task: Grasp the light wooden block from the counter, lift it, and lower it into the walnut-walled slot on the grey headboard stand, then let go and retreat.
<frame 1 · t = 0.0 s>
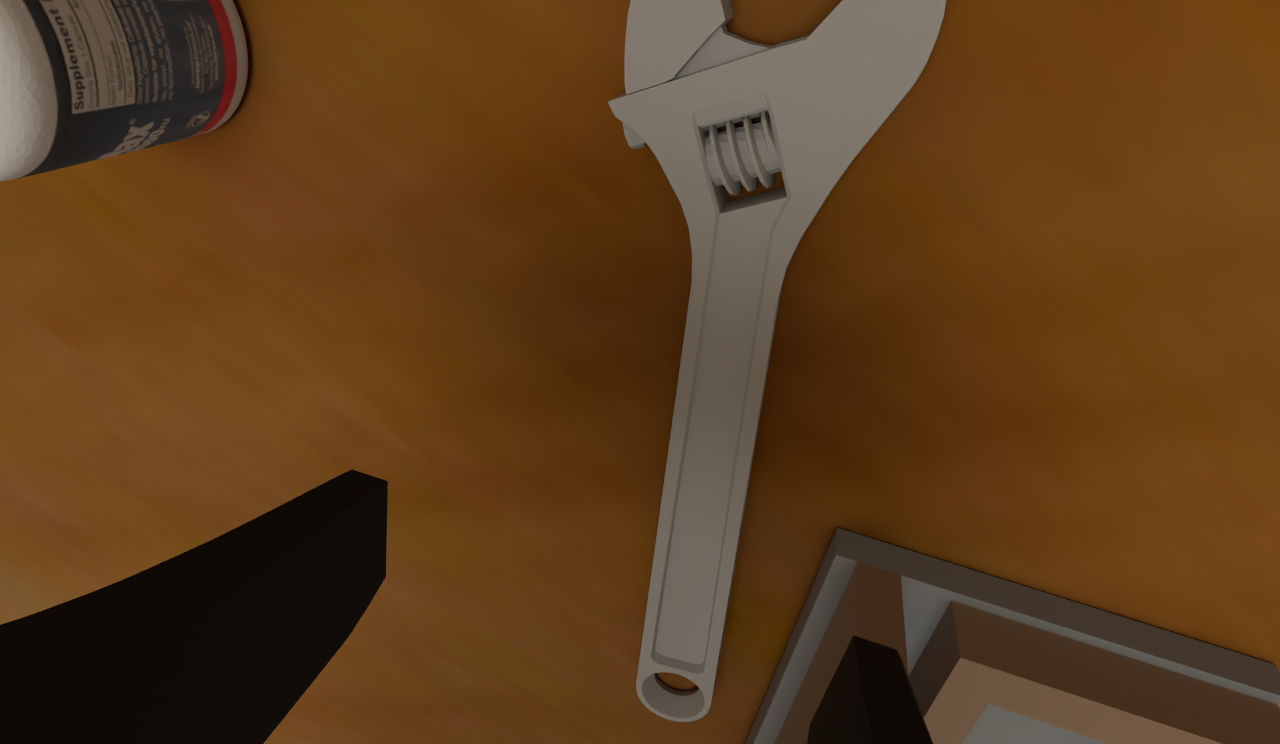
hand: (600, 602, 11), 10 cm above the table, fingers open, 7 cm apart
adjustable wrench: (702, 373, 21), on the table
headboard stand: (961, 723, 24), on the table
pill bottle: (173, 32, 20), on the table
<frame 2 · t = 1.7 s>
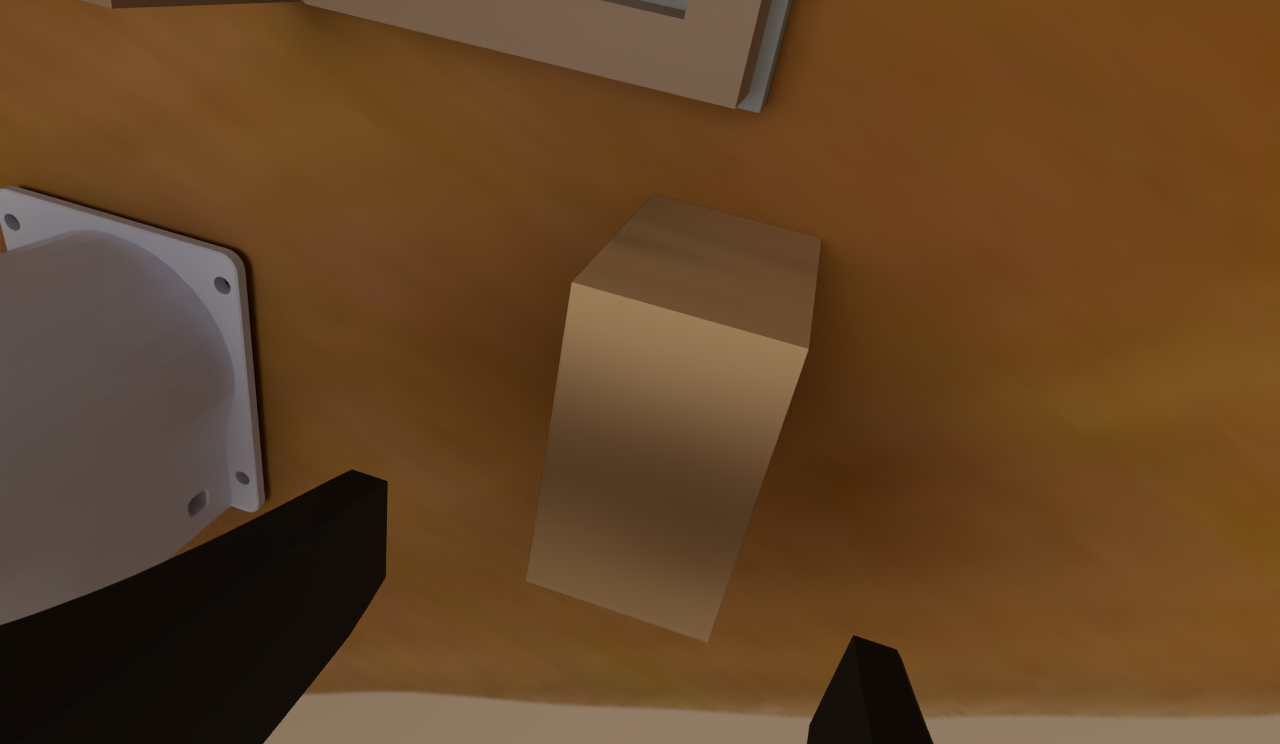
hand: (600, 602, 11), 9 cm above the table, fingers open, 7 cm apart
light wooden block: (702, 345, 19), on the table
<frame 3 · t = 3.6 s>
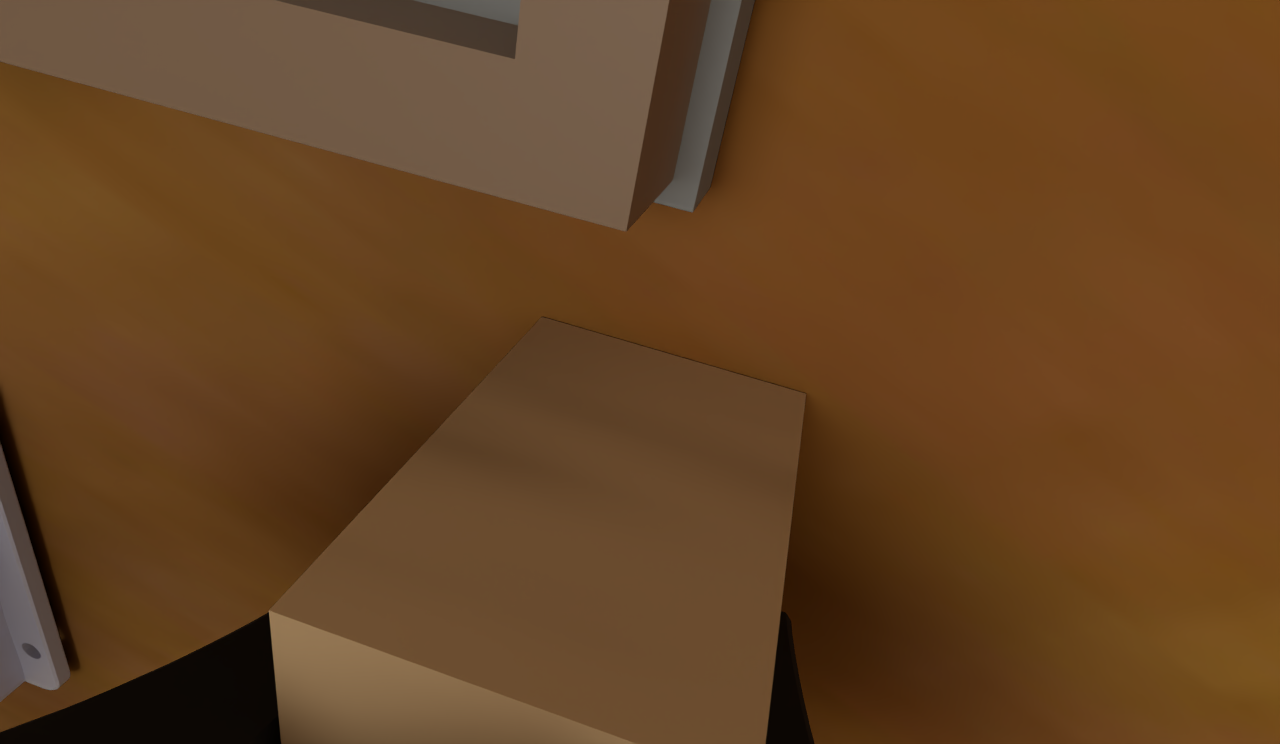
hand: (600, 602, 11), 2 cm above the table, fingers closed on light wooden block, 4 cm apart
light wooden block: (628, 532, 13), on the table, touching gripper
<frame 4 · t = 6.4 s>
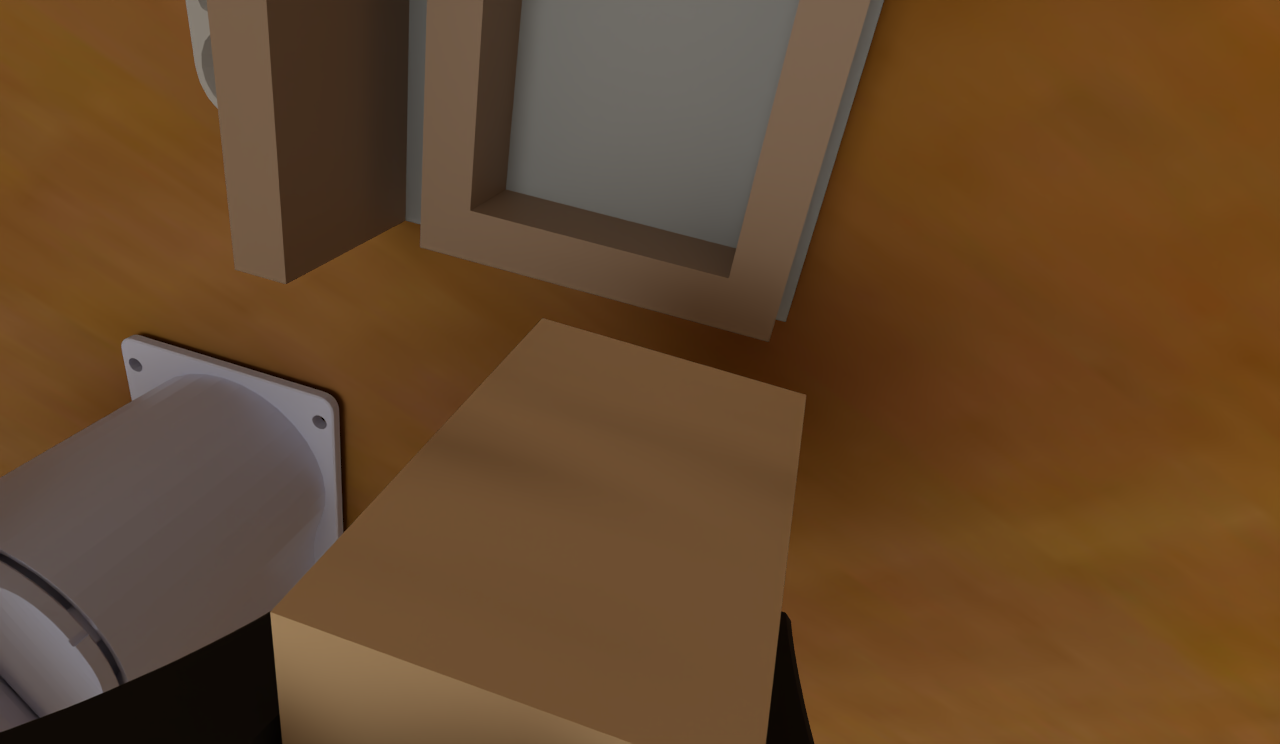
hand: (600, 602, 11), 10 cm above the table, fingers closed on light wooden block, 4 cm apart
light wooden block: (628, 533, 13), point 9 cm above the table, touching gripper
headboard stand: (604, 1, 17), on the table
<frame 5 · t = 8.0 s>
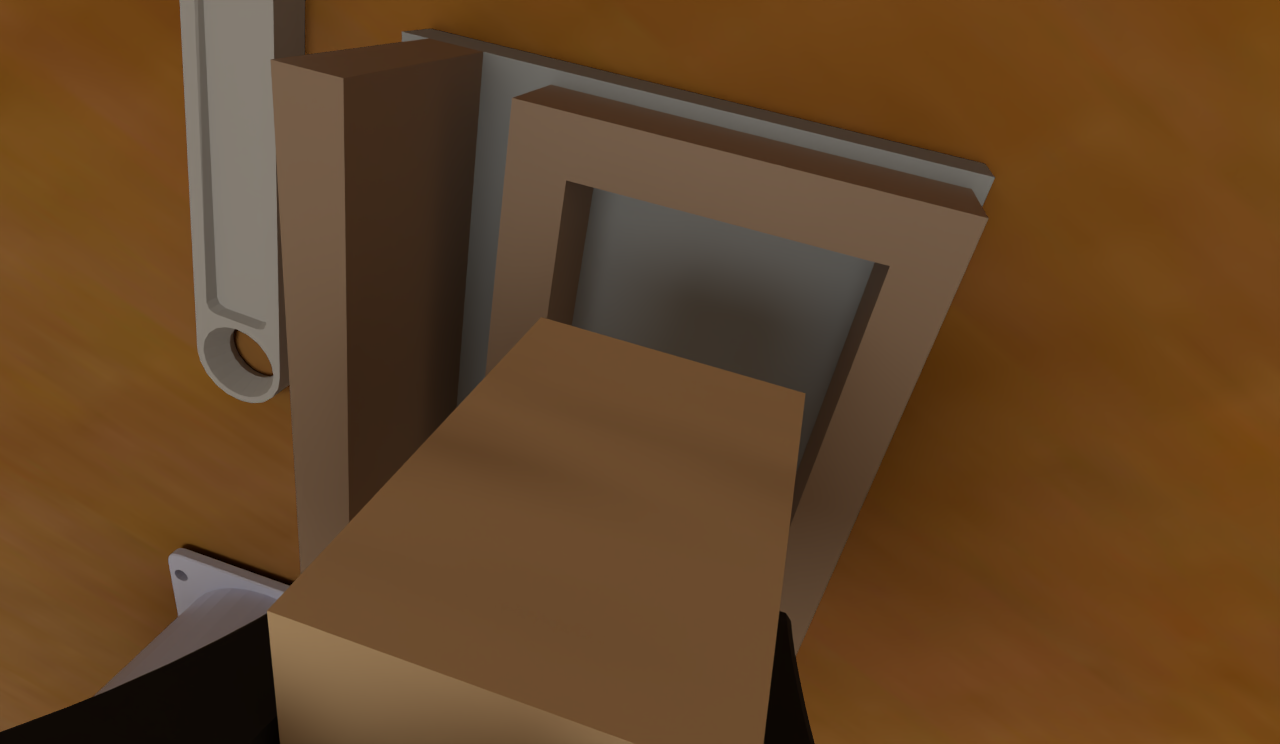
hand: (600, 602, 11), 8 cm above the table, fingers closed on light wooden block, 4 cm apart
light wooden block: (628, 533, 13), point 7 cm above the table, touching gripper
headboard stand: (640, 342, 18), on the table
when the fingers open (4 cm above the table, at t = 9.4 s): light wooden block stays where it is, resting on headboard stand.
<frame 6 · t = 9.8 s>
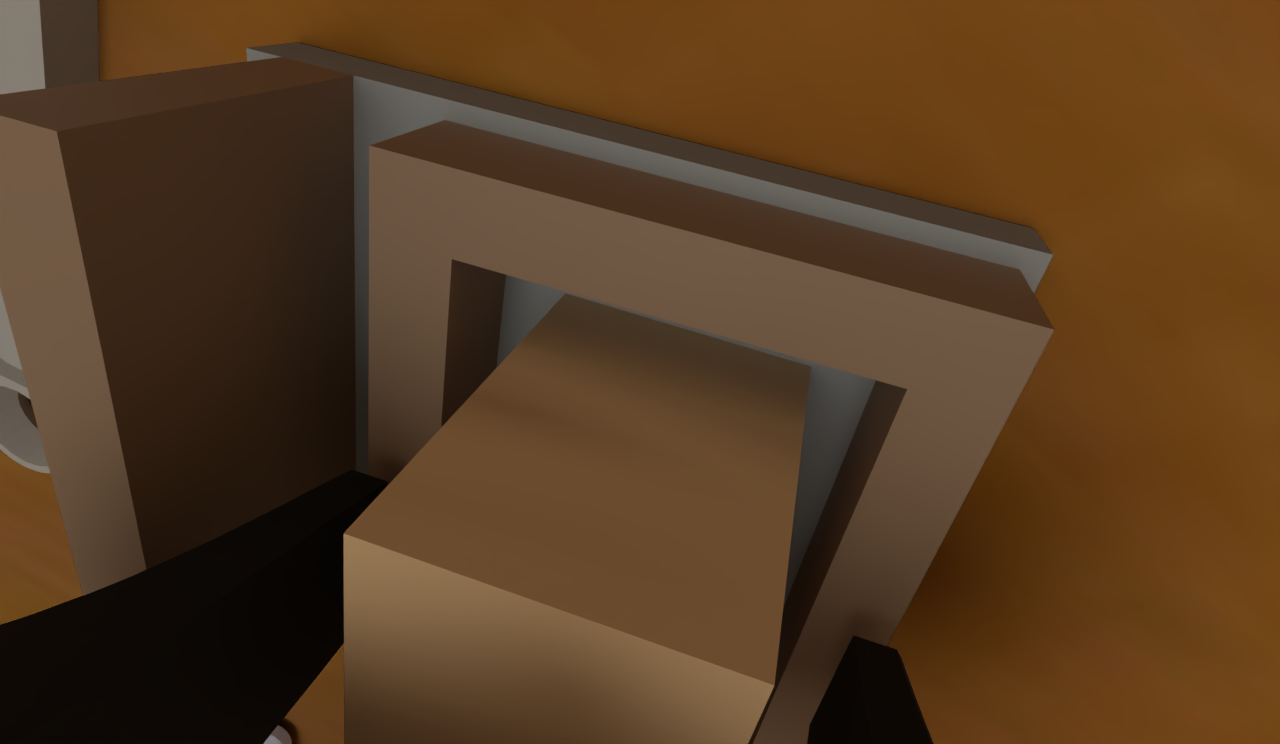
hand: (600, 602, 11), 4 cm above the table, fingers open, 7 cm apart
light wooden block: (641, 499, 13), point 1 cm above the table, touching headboard stand
headboard stand: (584, 438, 15), on the table
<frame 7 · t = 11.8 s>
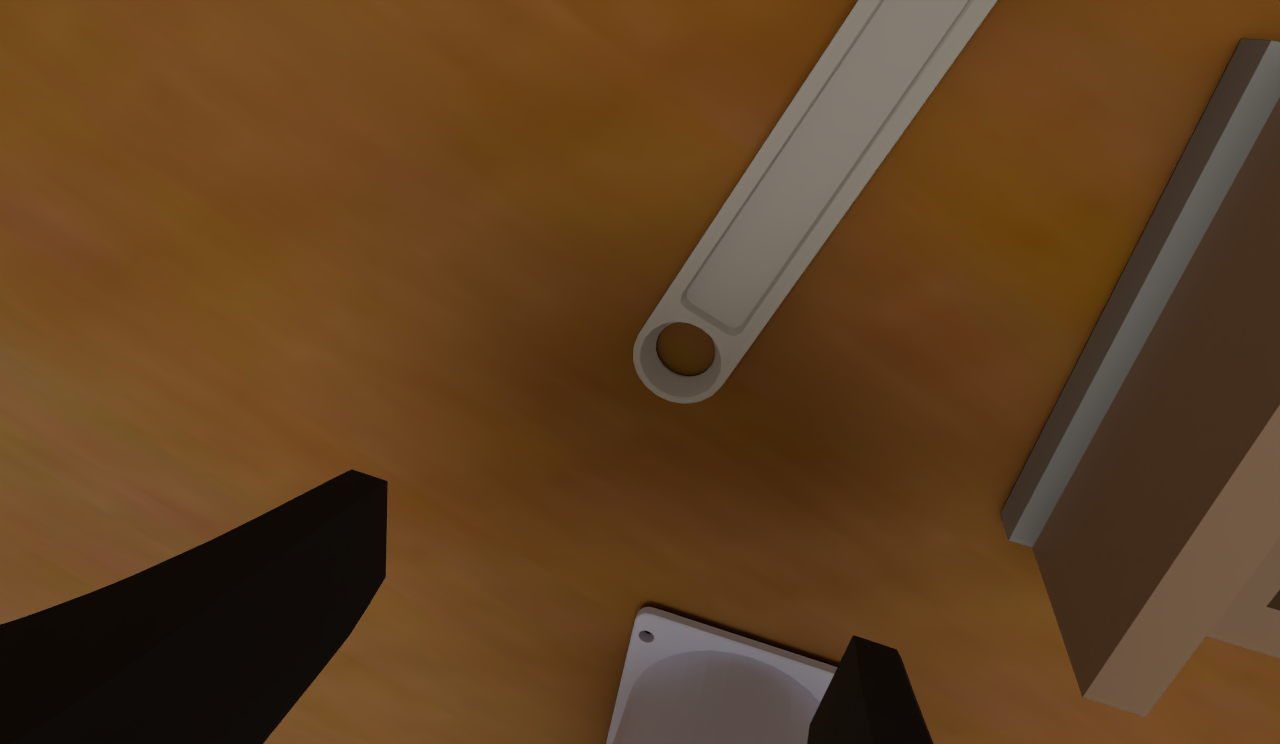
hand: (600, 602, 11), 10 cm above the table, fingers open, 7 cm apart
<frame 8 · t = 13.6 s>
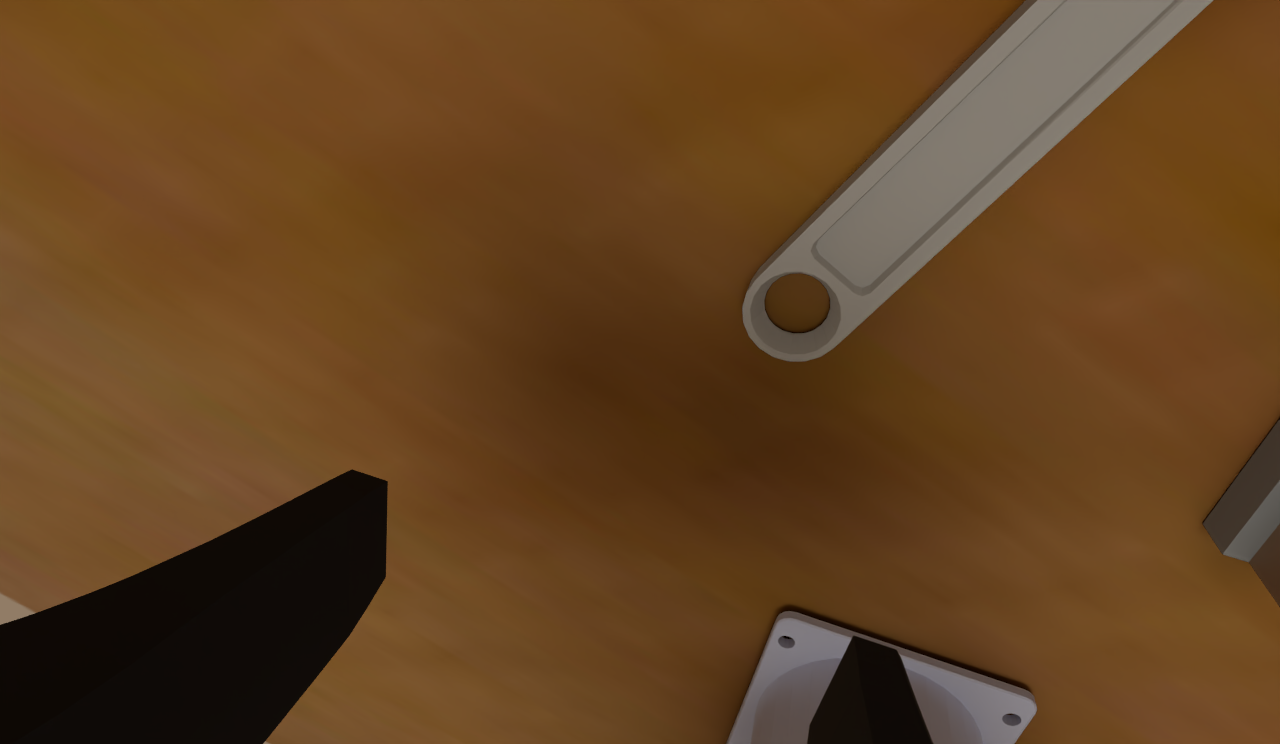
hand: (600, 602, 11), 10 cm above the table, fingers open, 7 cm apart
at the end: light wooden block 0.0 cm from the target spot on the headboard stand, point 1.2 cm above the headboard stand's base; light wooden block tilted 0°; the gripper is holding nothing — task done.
